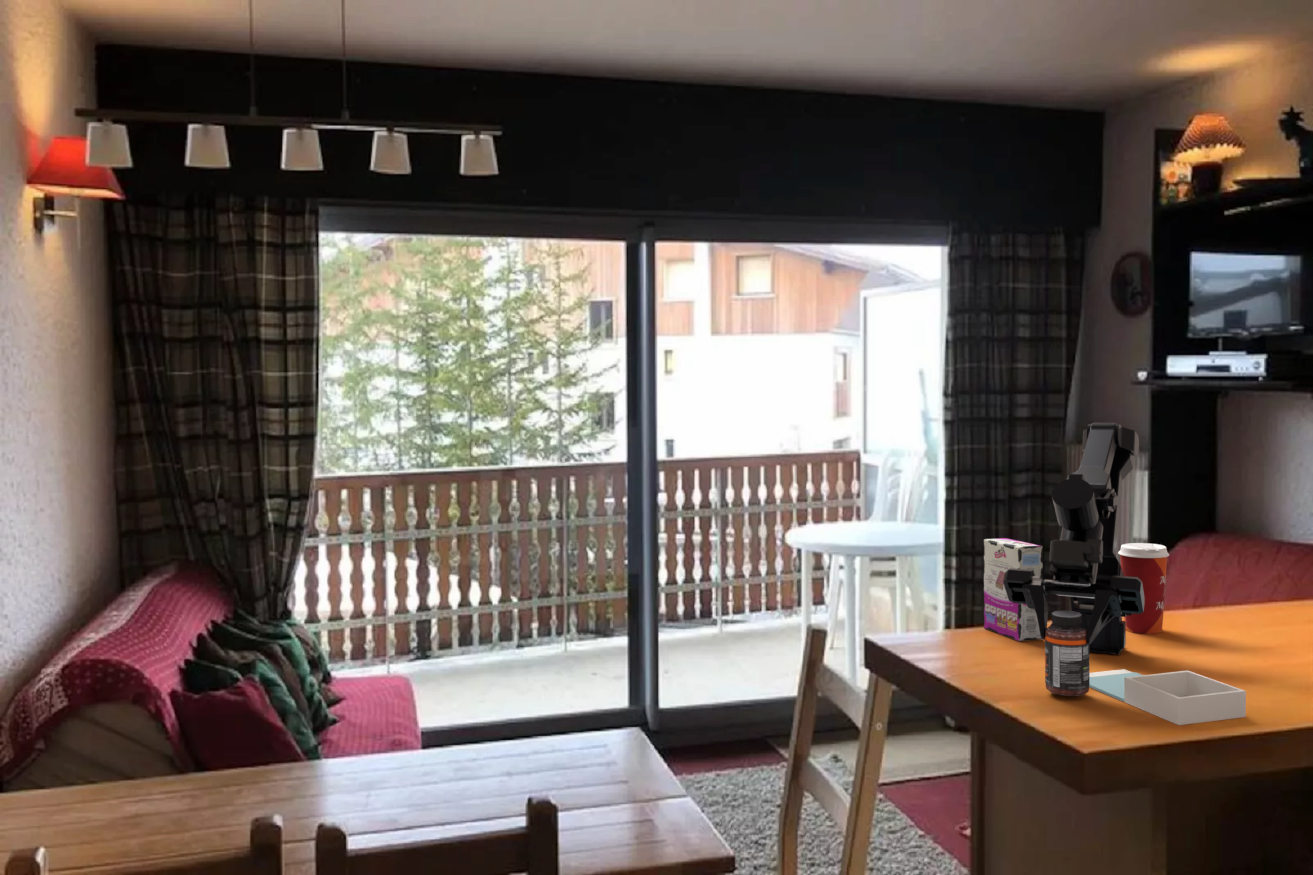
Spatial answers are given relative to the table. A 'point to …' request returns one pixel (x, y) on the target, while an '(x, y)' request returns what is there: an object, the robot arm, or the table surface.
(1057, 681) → the supplement bottle
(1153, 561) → the coffee cup
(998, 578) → the candy bar box
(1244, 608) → the table surface
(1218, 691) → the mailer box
